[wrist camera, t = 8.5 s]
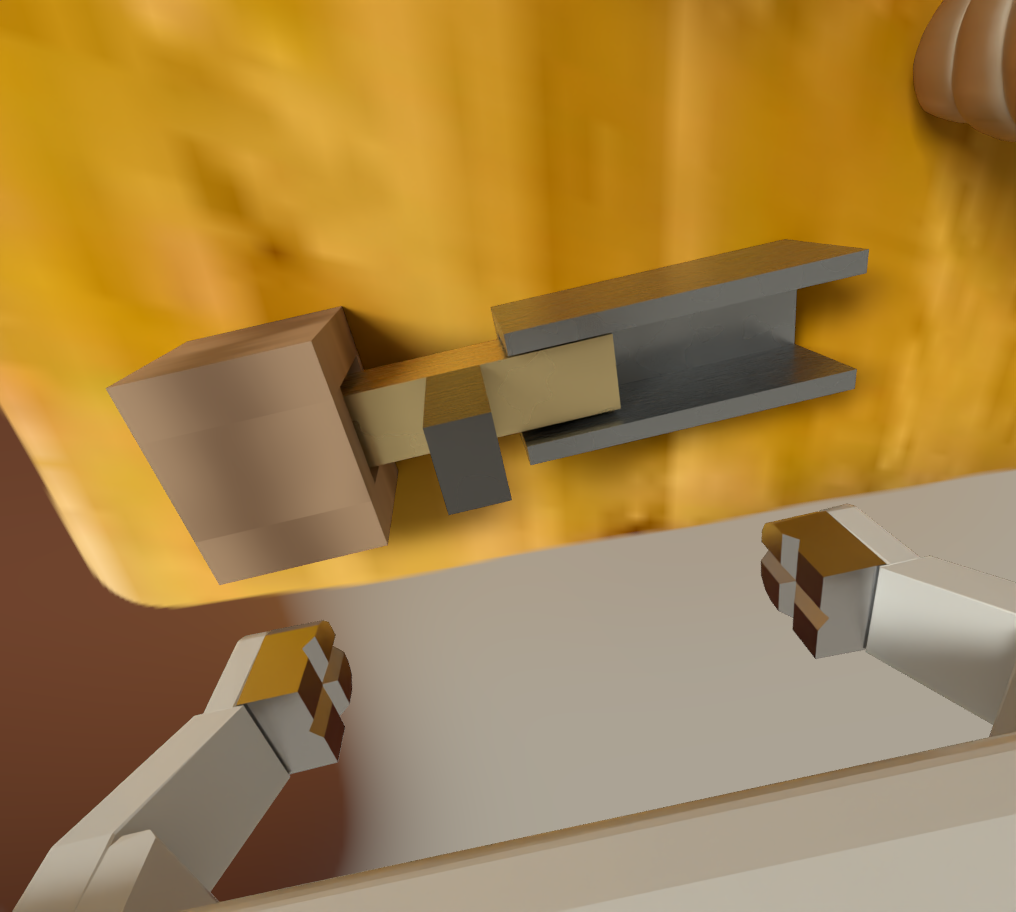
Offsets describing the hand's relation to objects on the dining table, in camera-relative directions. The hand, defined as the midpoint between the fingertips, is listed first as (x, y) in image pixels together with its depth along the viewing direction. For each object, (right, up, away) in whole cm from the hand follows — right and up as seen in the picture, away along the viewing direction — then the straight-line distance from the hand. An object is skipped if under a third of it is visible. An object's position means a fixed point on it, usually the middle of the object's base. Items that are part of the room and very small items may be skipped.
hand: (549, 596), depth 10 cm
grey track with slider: (+5, +8, +14) cm, 17 cm away
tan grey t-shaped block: (-4, +5, +13) cm, 14 cm away
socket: (-10, +5, +14) cm, 18 cm away
